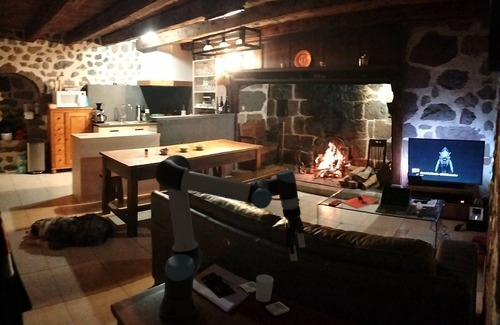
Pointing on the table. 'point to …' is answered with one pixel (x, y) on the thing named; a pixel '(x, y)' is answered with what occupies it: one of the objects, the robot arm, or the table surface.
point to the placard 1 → (249, 287)
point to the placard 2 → (277, 308)
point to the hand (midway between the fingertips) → (298, 253)
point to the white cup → (264, 288)
